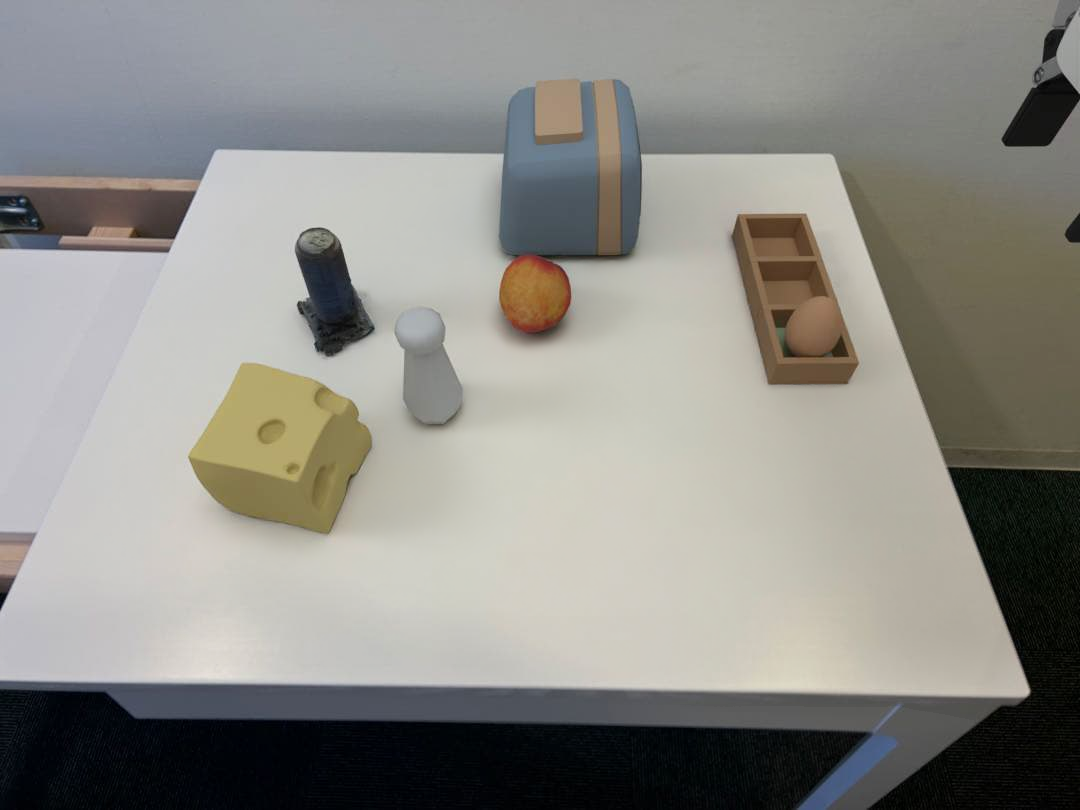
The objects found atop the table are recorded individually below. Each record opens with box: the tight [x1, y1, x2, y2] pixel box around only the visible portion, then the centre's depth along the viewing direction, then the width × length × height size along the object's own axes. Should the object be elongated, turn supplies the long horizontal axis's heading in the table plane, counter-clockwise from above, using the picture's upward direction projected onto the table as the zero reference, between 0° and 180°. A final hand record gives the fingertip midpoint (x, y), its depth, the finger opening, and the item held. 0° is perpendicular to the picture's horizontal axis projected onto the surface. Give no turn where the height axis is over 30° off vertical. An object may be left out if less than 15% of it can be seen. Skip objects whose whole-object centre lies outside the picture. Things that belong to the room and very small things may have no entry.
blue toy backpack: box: [498, 77, 643, 256], centre depth 80 cm, size 16×16×16 cm
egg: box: [785, 296, 843, 357], centre depth 70 cm, size 5×5×8 cm
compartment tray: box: [731, 212, 860, 385], centre depth 77 cm, size 23×8×3 cm, turn 0°
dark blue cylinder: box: [294, 226, 376, 356], centre depth 72 cm, size 9×8×12 cm
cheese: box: [187, 362, 373, 534], centre depth 61 cm, size 10×11×10 cm
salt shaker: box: [394, 306, 464, 425], centre depth 65 cm, size 6×6×13 cm
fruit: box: [498, 254, 572, 333], centre depth 74 cm, size 8×8×8 cm
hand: (1054, 188), depth 45 cm, fingers open, 9 cm apart
